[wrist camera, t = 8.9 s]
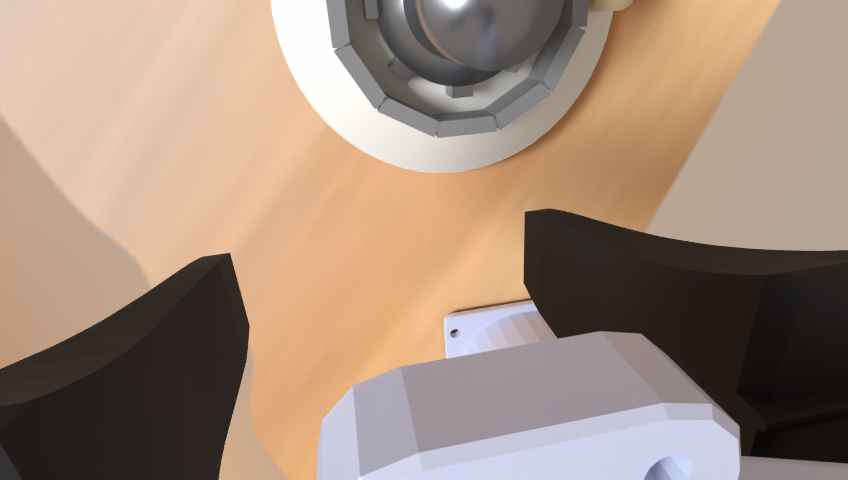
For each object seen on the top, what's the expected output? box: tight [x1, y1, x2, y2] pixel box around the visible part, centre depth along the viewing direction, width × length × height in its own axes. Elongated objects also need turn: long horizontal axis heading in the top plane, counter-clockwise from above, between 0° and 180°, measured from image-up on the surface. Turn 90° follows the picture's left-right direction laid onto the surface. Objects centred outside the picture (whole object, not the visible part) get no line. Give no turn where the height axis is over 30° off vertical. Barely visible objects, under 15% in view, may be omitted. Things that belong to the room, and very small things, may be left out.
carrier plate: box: [271, 0, 634, 173], centre depth 18 cm, size 13×13×3 cm
